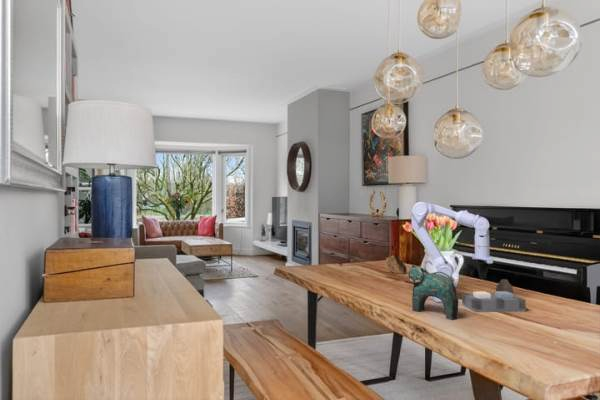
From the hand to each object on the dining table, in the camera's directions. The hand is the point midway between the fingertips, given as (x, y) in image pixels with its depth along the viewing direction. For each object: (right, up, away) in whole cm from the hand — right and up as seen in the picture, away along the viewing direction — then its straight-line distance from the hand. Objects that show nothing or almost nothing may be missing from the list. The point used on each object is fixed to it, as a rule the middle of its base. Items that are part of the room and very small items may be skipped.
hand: (482, 278), depth 184 cm
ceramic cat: (-26, -11, -17) cm, 33 cm away
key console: (+1, -10, -8) cm, 13 cm away
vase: (+12, -11, +7) cm, 18 cm away
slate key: (+5, -8, -8) cm, 13 cm away
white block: (-4, -8, -8) cm, 12 cm away
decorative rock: (-20, -10, +75) cm, 78 cm away
